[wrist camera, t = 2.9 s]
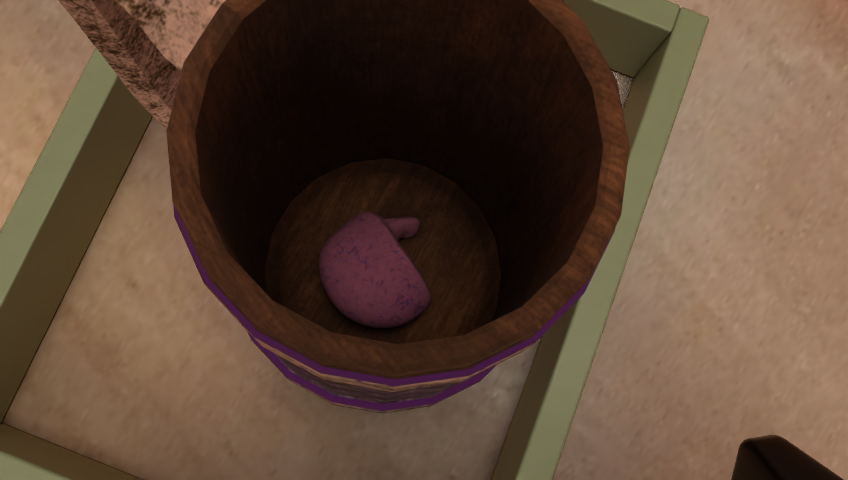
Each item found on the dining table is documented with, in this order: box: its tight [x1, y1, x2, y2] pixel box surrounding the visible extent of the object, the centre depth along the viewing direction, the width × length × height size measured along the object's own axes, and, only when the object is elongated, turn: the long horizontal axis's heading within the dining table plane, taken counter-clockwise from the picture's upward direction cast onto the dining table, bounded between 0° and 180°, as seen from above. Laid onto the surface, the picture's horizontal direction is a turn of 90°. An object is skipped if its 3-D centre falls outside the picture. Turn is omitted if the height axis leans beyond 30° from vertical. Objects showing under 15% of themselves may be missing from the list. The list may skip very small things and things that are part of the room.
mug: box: [59, 0, 630, 413], centre depth 16 cm, size 10×7×12 cm
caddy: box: [0, 0, 709, 480], centre depth 20 cm, size 14×17×3 cm
